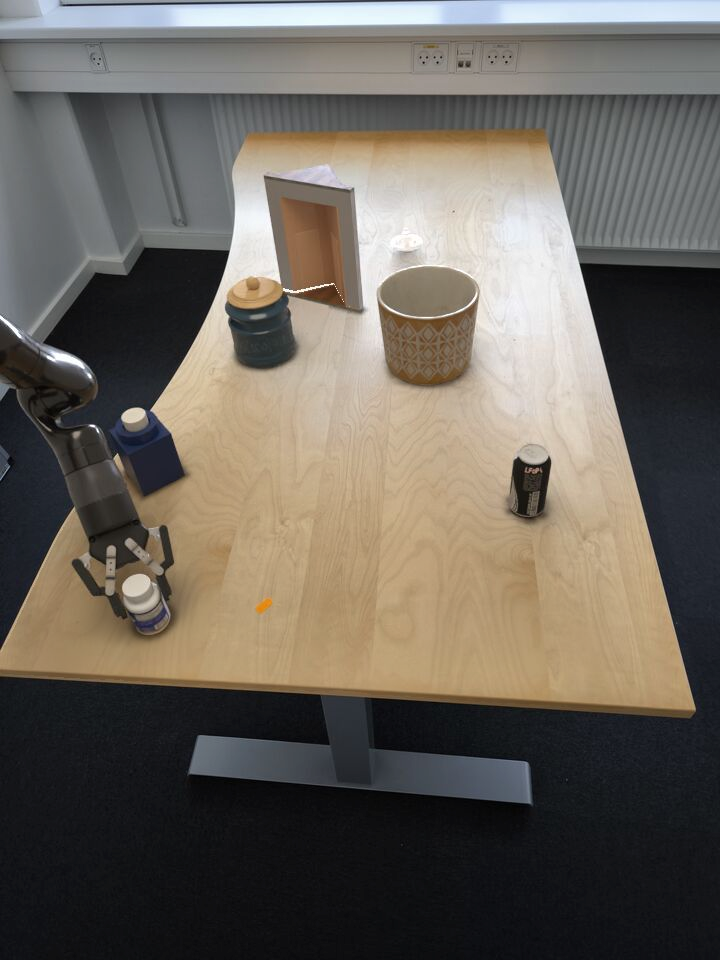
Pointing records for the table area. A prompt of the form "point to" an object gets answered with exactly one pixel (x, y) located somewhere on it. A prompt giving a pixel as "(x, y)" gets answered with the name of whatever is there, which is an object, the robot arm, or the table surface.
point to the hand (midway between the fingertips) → (146, 608)
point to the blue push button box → (148, 454)
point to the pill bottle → (145, 604)
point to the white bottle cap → (135, 419)
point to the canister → (260, 322)
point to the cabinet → (316, 236)
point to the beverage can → (529, 480)
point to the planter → (428, 322)
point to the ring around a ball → (406, 242)
